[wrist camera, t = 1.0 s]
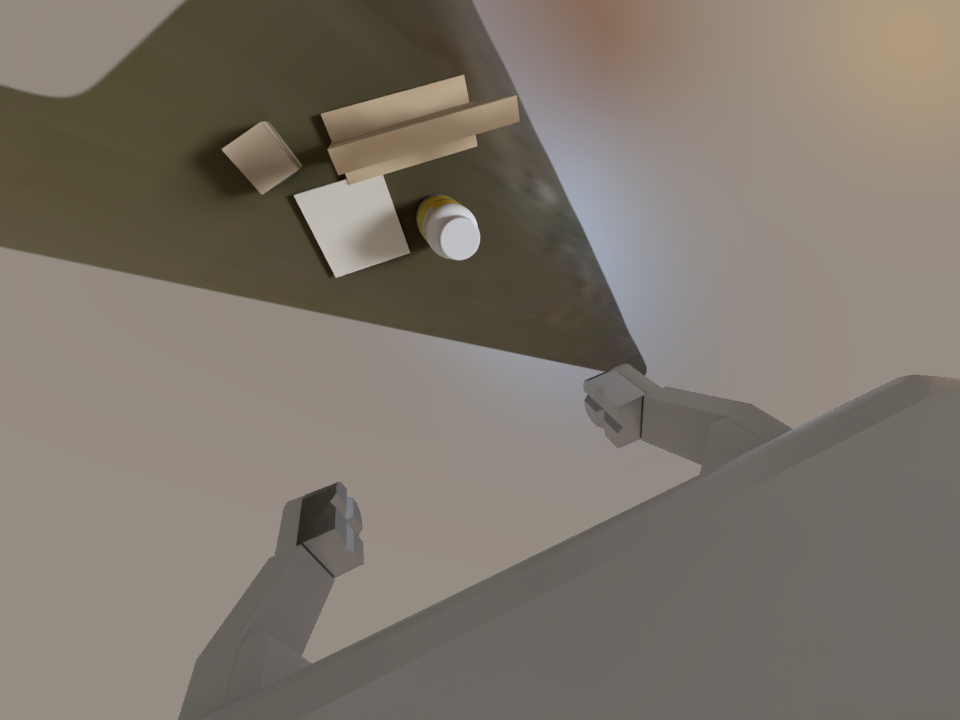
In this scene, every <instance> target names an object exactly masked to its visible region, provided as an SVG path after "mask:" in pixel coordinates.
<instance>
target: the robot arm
mask: <svg viewBox="0 0 960 720" xmlns="http://www.w3.org/2000/svg"><path fill="white" fill-rule="evenodd" d="M583 385H584V391H585V392H586V393H587V394H588V395H587V397H586V399H585V408H586V411H587V413H588V416H589V417H590V419H591V420H592V421H593V422H594V424H595V425H596V426H598V427H601V428H605V435H606V437H607V438H608V439H610V441H611V442H612V443H613V444H614V445H615V446H616V447H617V448H620V447H623V446H625V445H627V444H630V443H632V442H635V441H637V440H639V439H641V440H643V441H645V442H647V443H650V444H652V445H655V446H657V447H659V448H662V449H664V450H667V451H669V452H671V453H674V454H677V455H679V456H681V457H684V458H686V459H689V460H691V461H693V462H696V463H698V464H701V465H702V467H701V471H700V475H698V476H696V477H694V478H692V479H690V480H688V481H686V482H683V483H681V484H679V485H677V486H676V487H673V488H672V489H669V490H667V491H665V492H663V493H661V494H659V495H657V496H655V497H653V498H651V499H649V500H647V501H645V502H643V503H640V504H639V505H637V506H634V507H632V508H630V509H628V510H626V511H624V512H622V513H620V514H618V515H616V516H614V517H612V518H610V519H608V520H606V521H604V522H602V523H600V524H598V525H596V526H593V527H591V528H590V529H587V530H585V531H583V532H581V533H579V534H577V535H575V536H573V537H571V538H569V539H567V540H565V541H563V542H561V543H559V544H557V545H555V546H553V547H551V548H548V549H546V550H544V551H542V552H540V553H538V554H536V555H535V556H532V557H530V558H528V559H526V560H524V561H522V562H520V563H518V564H516V565H514V566H512V567H510V568H508V569H506V570H503V571H501V572H500V573H497V574H495V575H493V576H491V577H489V578H487V579H485V580H483V581H481V582H479V583H477V584H475V585H473V586H471V587H469V588H467V589H465V590H463V591H461V592H459V593H456V594H455V595H452V596H451V597H448V598H447V599H444V600H442V601H440V602H438V603H436V604H434V605H432V606H430V607H428V608H426V609H424V610H422V611H420V612H418V613H415V614H413V615H411V616H409V617H407V618H405V619H403V620H401V621H399V622H397V623H395V624H393V625H391V626H389V627H387V628H385V629H383V630H381V631H379V632H377V633H374V634H373V635H370V636H368V637H366V638H364V639H362V640H360V641H358V642H356V643H354V644H352V645H350V646H348V647H346V648H344V649H342V650H340V651H338V652H336V653H334V654H331V655H329V656H327V657H325V658H323V659H321V660H319V661H318V662H315V663H313V664H312V663H311V662H309V661H307V660H306V659H305V658H303V657H302V654H303V652H304V649H305V647H306V644H307V642H308V640H309V638H310V635H311V633H312V631H313V629H314V626H315V624H316V622H317V620H318V617H319V615H320V613H321V610H322V608H323V606H324V604H325V601H326V599H327V597H328V594H329V592H330V590H331V587H332V585H333V583H334V581H335V580H334V578H336V577H338V576H340V575H342V574H344V573H346V572H348V571H350V570H352V569H354V568H356V567H358V566H360V565H362V564H364V556H363V542H362V540H361V539H360V537H359V534H360V532H361V530H362V518H361V514H360V510H359V508H358V506H357V503H356V502H355V500H354V499H353V498H351V497H348V496H347V489H346V487H345V486H344V485H343V484H342V482H337V483H335V484H332V485H329V486H327V487H324V488H322V489H319V490H317V491H314V492H311V493H309V494H306V495H305V496H302V497H299V498H297V499H294V500H291V501H289V502H287V503H286V505H285V506H284V509H283V515H282V520H281V525H280V531H279V536H278V541H277V547H276V552H275V556H273V557H271V558H269V559H268V561H267V562H266V563H265V565H264V566H263V568H262V569H261V570H260V572H259V573H258V575H257V576H256V578H255V579H254V580H253V582H252V583H251V585H250V586H249V587H248V589H247V590H246V591H245V593H244V594H243V596H242V597H241V599H240V600H239V602H238V603H237V604H236V605H235V607H234V608H233V610H232V611H231V612H230V614H229V615H228V617H227V618H226V619H225V621H224V622H223V624H222V625H221V627H220V628H219V629H218V631H217V632H216V633H215V635H214V636H213V638H212V639H211V641H210V642H209V643H208V645H207V646H206V647H205V649H204V650H203V652H202V653H201V655H200V656H199V657H198V659H197V660H196V663H195V667H194V670H193V673H192V677H191V680H190V683H189V686H188V689H187V693H186V696H185V699H184V702H183V706H182V709H181V712H180V716H179V719H178V720H960V379H954V378H946V377H938V376H926V375H908V376H904V377H900V378H898V379H895V380H893V381H890V382H888V383H886V384H884V385H882V386H880V387H878V388H876V389H874V390H872V391H870V392H868V393H866V394H864V395H861V396H860V397H857V398H855V399H854V400H851V401H849V402H847V403H845V404H843V405H841V406H839V407H837V408H835V409H833V410H831V411H829V412H827V413H825V414H823V415H821V416H819V417H817V418H815V419H813V420H811V421H808V422H806V423H804V424H802V425H800V426H798V427H796V428H794V429H792V428H790V427H789V426H787V425H785V424H784V423H782V422H780V421H779V420H777V419H775V418H774V417H772V416H770V415H769V414H767V413H765V412H764V411H762V410H760V409H759V408H757V407H755V406H754V405H752V404H748V403H744V402H739V401H734V400H729V399H724V398H719V397H714V396H709V395H704V394H699V393H695V392H690V391H685V390H680V389H675V388H670V387H664V388H661V387H660V386H658V385H657V384H655V383H654V382H653V381H651V380H650V379H648V378H647V377H645V376H644V375H643V374H641V373H640V372H638V371H637V370H636V369H634V368H633V367H631V366H630V365H628V364H622V365H620V366H618V367H615V368H613V369H611V370H608V371H606V372H604V373H601V374H599V375H597V376H594V377H592V378H590V379H587V380H585V381H584V384H583Z"/></svg>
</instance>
